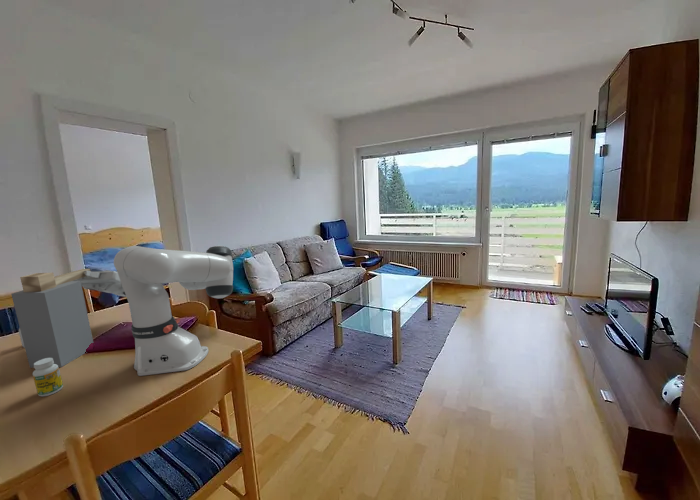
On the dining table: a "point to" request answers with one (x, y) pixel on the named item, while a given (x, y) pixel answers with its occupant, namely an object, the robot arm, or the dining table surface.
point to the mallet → (48, 280)
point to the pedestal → (54, 323)
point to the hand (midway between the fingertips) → (79, 272)
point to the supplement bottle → (47, 377)
